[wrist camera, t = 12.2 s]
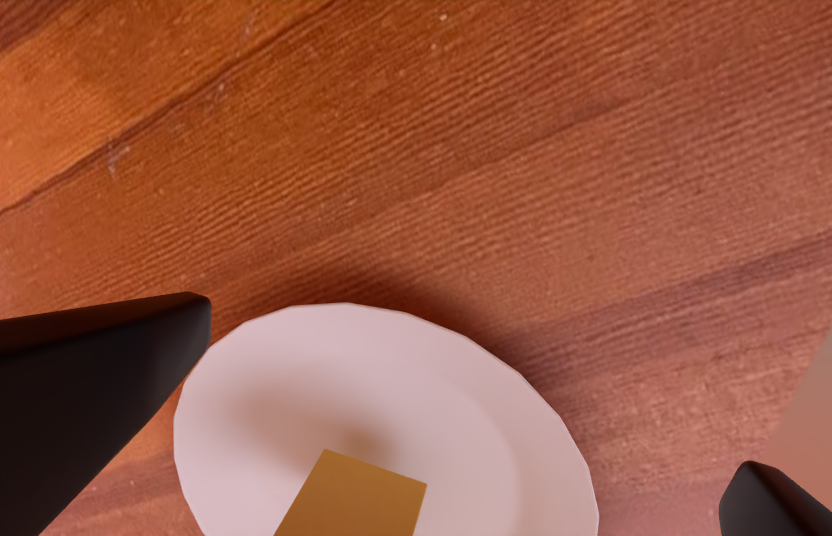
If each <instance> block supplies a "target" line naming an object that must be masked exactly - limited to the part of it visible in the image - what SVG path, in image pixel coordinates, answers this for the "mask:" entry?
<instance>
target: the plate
mask: <svg viewBox="0 0 832 536" xmlns="http://www.w3.org/2000/svg"><path fill="white" fill-rule="evenodd" d="M324 449H328V450H331V451H334V452H337V453H339V454H342V455H345V456H348V457H351V458H354V459H357V460H360V461H363V462H366V463H368V464H371V465H374V466H377V467H380V468H383V469H386V470H389V471H392V472H394V473H397V474H400V475H403V476H406V477H409V478H412V479H415V480H418V481H420V482H423V483H426V484H427V488H426V492H425V495H424V499H423V502H422V506H421V509H420V513H419V517H418V520H417V524H416V527H415V531H414V534H413V536H597V534H598V524H599V512H598V507H597V503H596V498H595V494H594V490H593V485H592V481H591V476H590V472H589V468H588V465H587V464H586V462H585V460H584V458H583V456H582V455H581V453H580V451H579V449H578V447H577V446H576V444H575V442H574V440H573V438H572V437H571V435H570V433H569V431H568V429H567V428H566V426H565V424H564V422H563V421H562V419H561V417H560V416H559V415H558V414H557V413H556V412H555V411H554V410H553V408H552V407H551V406H550V405H549V404H548V403H547V402H546V401H545V400H544V399H543V398H542V397H541V396H540V395H539V393H538V392H537V391H536V390H535V389H534V388H533V387H532V386H531V385H530V384H529V383H528V382H527V381H526V379H525V378H524V377H523V376H522V375H521V374H520V373H519V372H518V371H516V370H515V369H513V368H512V367H510V366H509V365H507V364H506V363H505V362H503V361H502V360H500V359H499V358H497V357H496V356H494V355H493V354H491V353H490V352H488V351H487V350H485V349H484V348H483V347H481V346H480V345H478V344H477V343H475V342H474V341H472V340H471V339H469V338H468V337H466V336H464V335H462V334H459V333H457V332H454V331H452V330H449V329H447V328H444V327H442V326H439V325H437V324H434V323H432V322H429V321H427V320H424V319H422V318H419V317H417V316H414V315H412V314H409V313H407V312H401V311H395V310H390V309H384V308H378V307H372V306H366V305H360V304H354V303H349V302H343V303H326V304H310V305H294V306H289V307H286V308H283V309H280V310H277V311H274V312H272V313H269V314H266V315H263V316H260V317H257V318H254V319H251V320H248V321H245V322H243V323H242V324H241V325H239V326H238V327H237V328H235V329H234V330H232V331H231V332H230V333H228V334H227V335H226V336H224V337H223V338H221V339H220V340H219V341H217V342H216V343H214V344H213V345H212V346H210V347H209V348H208V349H207V351H206V352H205V353H204V355H203V356H202V358H201V359H200V360H199V362H198V363H197V364H196V366H195V367H194V369H193V370H192V371H191V373H190V374H189V376H188V377H187V378H186V380H185V382H184V385H183V389H182V392H181V395H180V399H179V402H178V405H177V408H176V412H175V415H174V460H175V464H176V468H177V472H178V476H179V480H180V484H181V488H182V492H183V495H184V497H185V499H186V501H187V503H188V505H189V507H190V509H191V511H192V513H193V515H194V517H195V519H196V521H197V523H198V525H199V527H200V529H201V531H202V533H203V534H204V535H205V536H273V535H274V533H275V532H276V530H277V528H278V527H279V525H280V523H281V522H282V520H283V518H284V516H285V515H286V513H287V511H288V510H289V508H290V506H291V505H292V503H293V501H294V499H295V498H296V496H297V494H298V493H299V491H300V489H301V488H302V486H303V484H304V483H305V481H306V479H307V477H308V476H309V474H310V472H311V471H312V469H313V467H314V466H315V464H316V462H317V460H318V459H319V457H320V455H321V454H322V452H323V450H324Z"/></svg>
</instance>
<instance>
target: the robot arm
mask: <svg viewBox="0 0 832 536" xmlns="http://www.w3.org/2000/svg"><path fill="white" fill-rule="evenodd" d="M211 311H212V306H211V301H210V300H209V299H208V298H207V297H205V296H202V295H199V294H195V293H192V292H180V293H173V294H167V295H160V296H154V297H147V298H140V299H134V300H127V301H121V302H114V303H108V304H101V305H95V306H88V307H81V308H75V309H68V310H62V311H55V312H49V313H42V314H35V315H29V316H22V317H16V318H9V319H3V320H0V536H38V535H39V534H40V533H41V532H42V531H43V530H44V529H45V528H46V527H47V526H48V525H49V524H50V523H51V522H52V521H53V520H54V519H55V518H56V517H57V516H58V515H59V514H60V513H61V512H62V511H63V510H64V509H65V508H66V507H67V505H68V504H69V503H70V502H71V501H72V500H73V499H74V498H75V497H76V496H77V495H78V494H79V493H80V492H81V491H82V490H83V489H84V488H85V487H86V486H87V485H88V484H89V483H90V482H91V481H92V480H93V479H94V478H95V477H96V476H97V475H98V473H99V472H100V471H101V470H102V469H103V468H104V467H105V466H106V465H107V464H108V463H109V462H110V461H111V460H112V459H113V458H114V457H115V456H116V455H117V454H118V453H119V452H120V451H121V450H122V449H123V448H124V447H125V446H126V445H127V444H128V443H129V441H130V440H131V439H132V438H133V437H134V436H135V435H136V434H137V433H138V432H139V431H140V430H141V429H142V428H143V427H144V426H145V425H146V424H147V423H148V422H149V421H150V419H151V418H152V417H153V416H154V415H155V414H156V413H157V412H158V410H159V409H160V408H161V407H162V406H163V404H164V403H165V402H166V401H167V399H168V398H169V397H170V396H171V394H172V393H173V392H174V390H175V389H176V388H177V387H178V385H179V384H180V383H181V382H182V380H183V379H184V378H185V377H186V375H187V374H188V373H189V371H190V370H191V369H192V368H193V366H194V365H195V364H196V363H197V361H198V360H199V359H200V358H201V356H202V355H203V354H204V353H205V351H206V350H207V348H208V346H209V343H210V339H211ZM719 520H720V527H721V534H722V536H832V512H831V511H830V510H828V509H827V508H826V507H825V506H823V505H822V504H821V503H820V502H819V501H817V500H816V499H815V498H814V497H812V496H811V495H810V494H809V493H807V492H806V491H805V490H804V489H802V488H801V487H800V486H799V485H797V484H796V483H795V482H794V481H793V480H791V479H790V478H789V477H788V476H786V475H785V474H784V473H783V472H781V471H780V470H779V469H776V468H774V467H772V466H768V465H765V464H762V463H758V462H755V461H750V460H749V461H745V462H743V463H742V464H741V465H740V467H739V468H738V470H737V472H736V473H735V475H734V477H733V479H732V480H731V482H730V484H729V486H728V487H727V489H726V491H725V493H724V494H723V496H722V498H721V501H720V504H719Z"/></svg>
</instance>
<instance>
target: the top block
mask: <svg viewBox="0 0 832 536" xmlns="http://www.w3.org/2000/svg"><path fill="white" fill-rule="evenodd" d="M426 488H427V484H426V483H423V482H420V481H418V480H415V479H412V478H409V477H406V476H403V475H400V474H397V473H394V472H392V471H389V470H386V469H383V468H380V467H377V466H374V465H371V464H368V463H366V462H363V461H360V460H357V459H354V458H351V457H348V456H345V455H342V454H339V453H337V452H334V451H331V450H328V449H324V450H323V452H322V454H321V455H320V457H319V459H318V460H317V462H316V464H315V466H314V467H313V469H312V471H311V472H310V474H309V476H308V477H307V479H306V481H305V483H304V484H303V486H302V488H301V489H300V491H299V493H298V494H297V496H296V498H295V499H294V501H293V503H292V505H291V506H290V508H289V510H288V511H287V513H286V515H285V516H284V518H283V520H282V522H281V523H280V525H279V527H278V528H277V530H276V532H275V533H274V535H273V536H413V534H414V531H415V527H416V524H417V520H418V517H419V513H420V509H421V506H422V502H423V499H424V495H425V492H426Z"/></svg>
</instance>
